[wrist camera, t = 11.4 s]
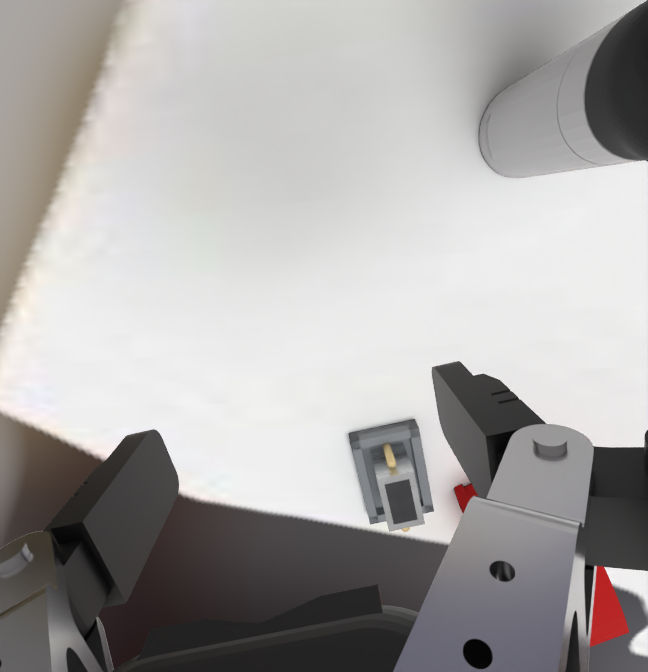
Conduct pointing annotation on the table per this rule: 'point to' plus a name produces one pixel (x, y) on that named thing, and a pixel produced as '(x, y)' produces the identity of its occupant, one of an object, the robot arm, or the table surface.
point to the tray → (389, 463)
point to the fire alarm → (606, 604)
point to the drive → (398, 488)
